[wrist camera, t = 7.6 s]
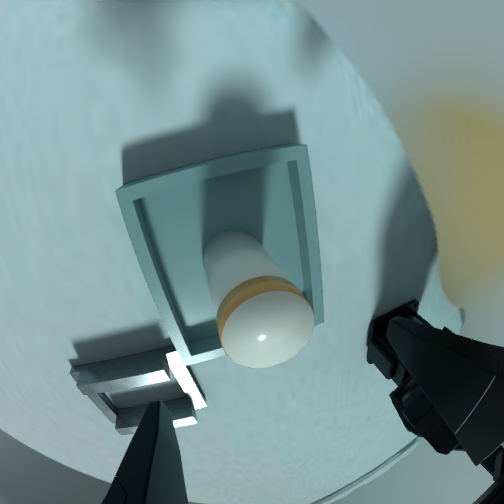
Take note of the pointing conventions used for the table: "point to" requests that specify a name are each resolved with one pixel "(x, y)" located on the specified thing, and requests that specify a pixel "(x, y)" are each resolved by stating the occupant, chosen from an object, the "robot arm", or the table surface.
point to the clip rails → (139, 374)
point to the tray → (218, 220)
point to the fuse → (254, 302)
